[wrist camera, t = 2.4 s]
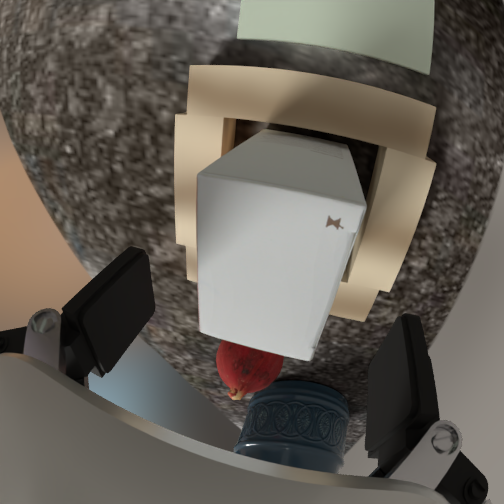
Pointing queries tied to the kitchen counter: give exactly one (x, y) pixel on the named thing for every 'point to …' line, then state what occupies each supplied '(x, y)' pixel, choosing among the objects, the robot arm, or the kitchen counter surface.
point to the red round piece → (246, 368)
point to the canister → (296, 426)
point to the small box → (275, 240)
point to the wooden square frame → (326, 120)
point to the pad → (347, 27)
